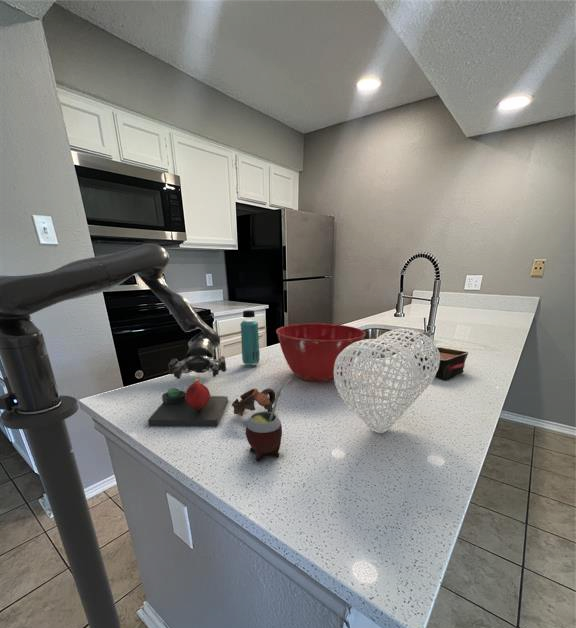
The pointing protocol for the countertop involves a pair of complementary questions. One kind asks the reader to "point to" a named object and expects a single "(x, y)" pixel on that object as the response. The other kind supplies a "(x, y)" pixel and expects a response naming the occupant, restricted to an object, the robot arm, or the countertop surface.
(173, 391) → the button
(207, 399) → the onion
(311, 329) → the mixing bowl
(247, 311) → the beverage bottle
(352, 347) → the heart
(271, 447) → the mate gourd
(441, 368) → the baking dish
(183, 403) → the scale
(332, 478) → the countertop surface
